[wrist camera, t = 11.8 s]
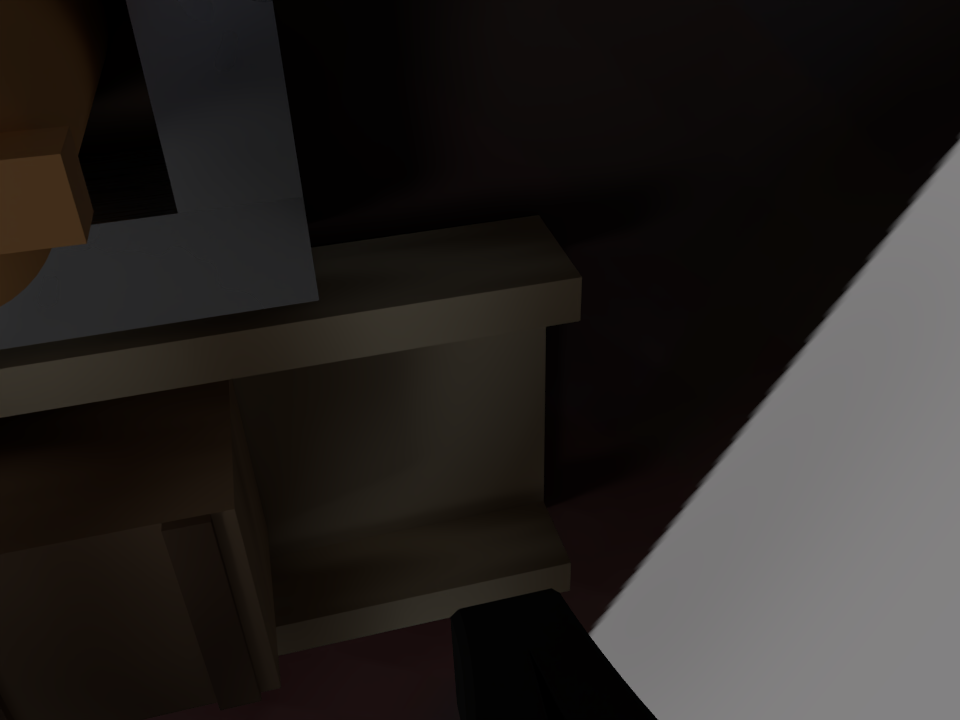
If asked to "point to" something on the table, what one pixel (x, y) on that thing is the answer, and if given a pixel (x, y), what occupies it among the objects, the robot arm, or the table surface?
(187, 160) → the grey rectangular frame
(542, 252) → the bay
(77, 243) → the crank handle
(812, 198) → the table surface
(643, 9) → the table surface
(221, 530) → the crate
